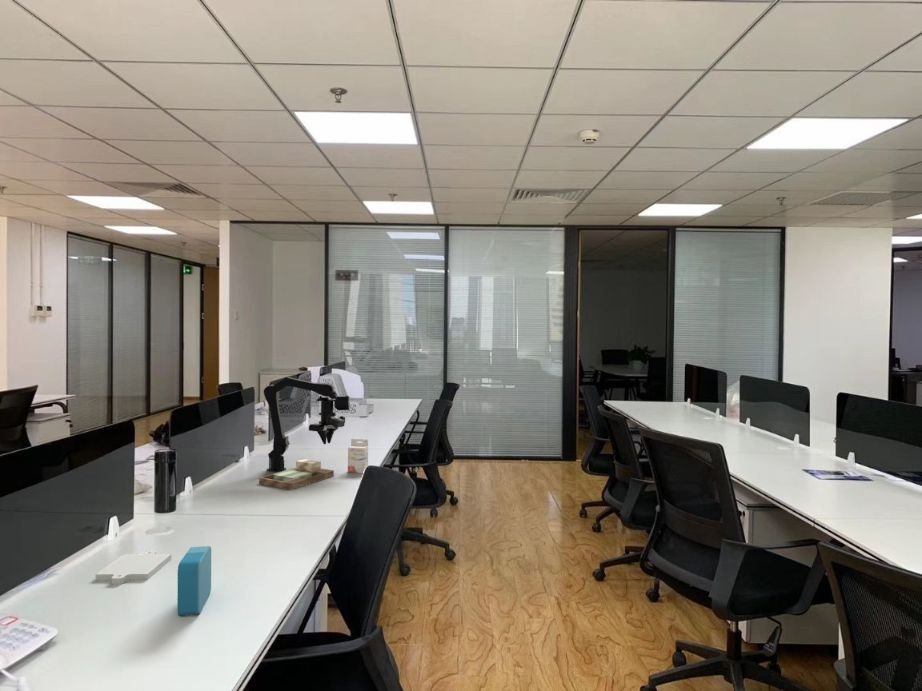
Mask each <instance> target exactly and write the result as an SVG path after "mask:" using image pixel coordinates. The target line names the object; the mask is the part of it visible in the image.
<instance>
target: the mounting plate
mask: <svg viewBox="0 0 922 691" xmlns="http://www.w3.org/2000/svg"><path fill="white" fill-rule="evenodd" d="M170 561H172V554H171V553H168V554H167V553H157V551H156V550H146V551H145V552H142V553H141V554H139V553H138V554H137V553H136V554H135V553H134V554H133V553H132V554H131V553H129V554H127V553H124V554H122V555H121V556H119V557H118V558H116V559H115V560H114V561H112V562H111V563H109V564H108V565H106V566H105V567H104V568H102V569H101V570H99V571H98V572H97V573H96V574H95V581H111V585H123V584H124V583H126V582H128V581H149V580H150V579H151V578H152V577H153V576H154V575H156V573H158V572H159V571H160V570H161V569H162V568H163V567H165V566H166V565H167V564H168V563H169V562H170Z"/></svg>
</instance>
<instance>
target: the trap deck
mask: <svg viewBox="0 0 922 691" xmlns="http://www.w3.org/2000/svg"><path fill="white" fill-rule="evenodd" d="M334 472H335V470H332V469H327V468H322V467H321V470H317V471H314V472H311V471H305V470H299V469H296V467H294V468H291V469H285V470H281V471H278V472H275V473H271V474H267V475H265V476H261V477H259V478H258V484H259V485H263V484H264V486H268V485H269V487H273V486H274V487H275V488H279V489H284V488H285V490H289V489H290V491H291V489H292V490H294V488H295V489H297V488H300V486H301V487H304V486H306V484H307V485H309V483H310V484H313V482H314V483H316V481H317V482H319V480H320V481H323V480H326V479H329V478H331V477H334V476H335V473H334ZM325 478H326V479H325ZM322 479H323V480H322ZM303 485H304V486H303ZM274 487H273V488H274Z"/></svg>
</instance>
